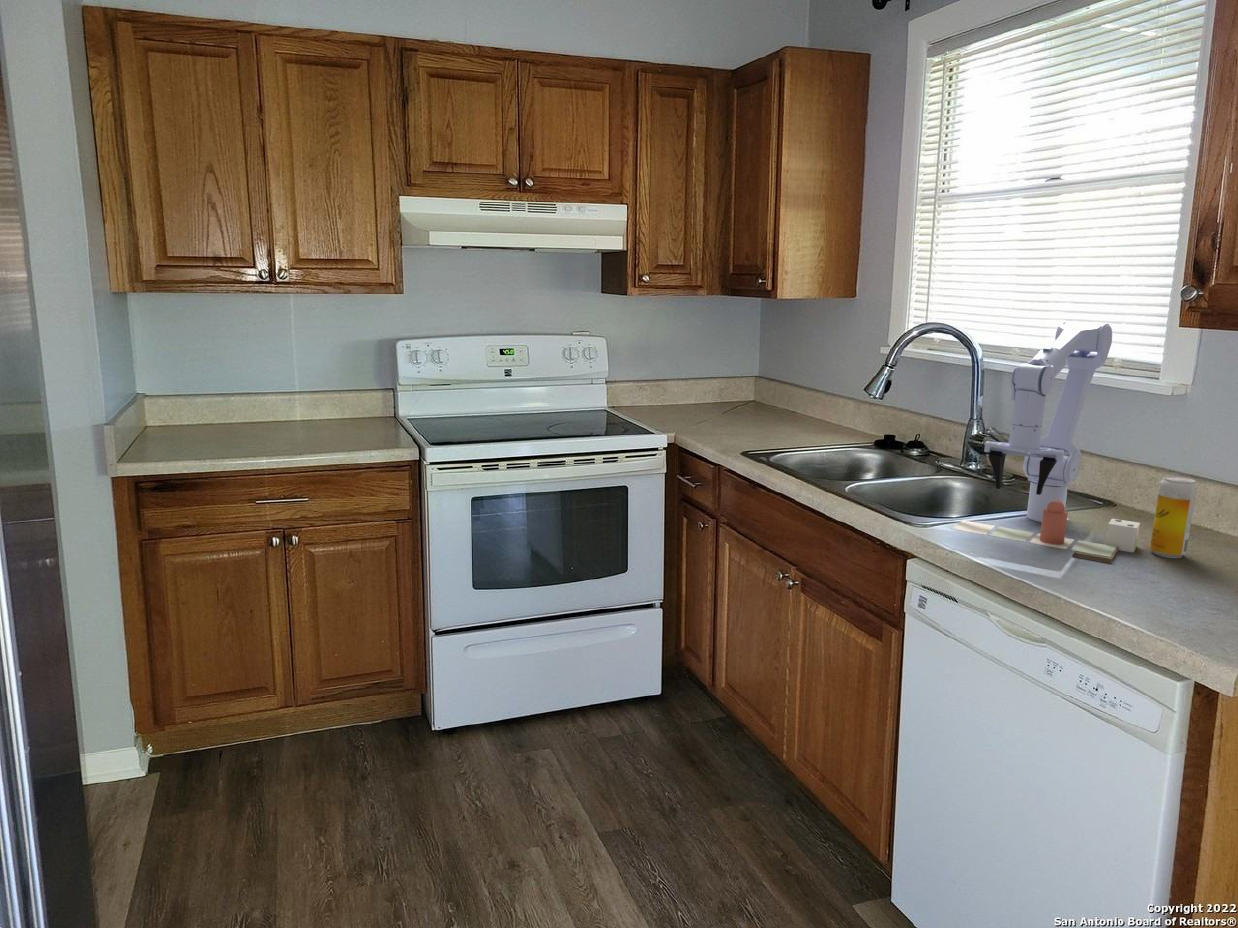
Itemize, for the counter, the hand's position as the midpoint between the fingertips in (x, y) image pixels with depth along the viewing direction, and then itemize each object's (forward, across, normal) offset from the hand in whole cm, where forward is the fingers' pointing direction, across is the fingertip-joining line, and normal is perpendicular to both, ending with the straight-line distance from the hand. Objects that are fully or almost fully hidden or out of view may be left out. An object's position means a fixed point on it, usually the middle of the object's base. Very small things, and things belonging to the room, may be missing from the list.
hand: (1018, 490), depth 189 cm
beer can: (+10, +27, +6) cm, 29 cm away
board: (+9, +4, -3) cm, 11 cm away
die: (+10, +19, +5) cm, 22 cm away
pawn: (+8, +8, -3) cm, 12 cm away
